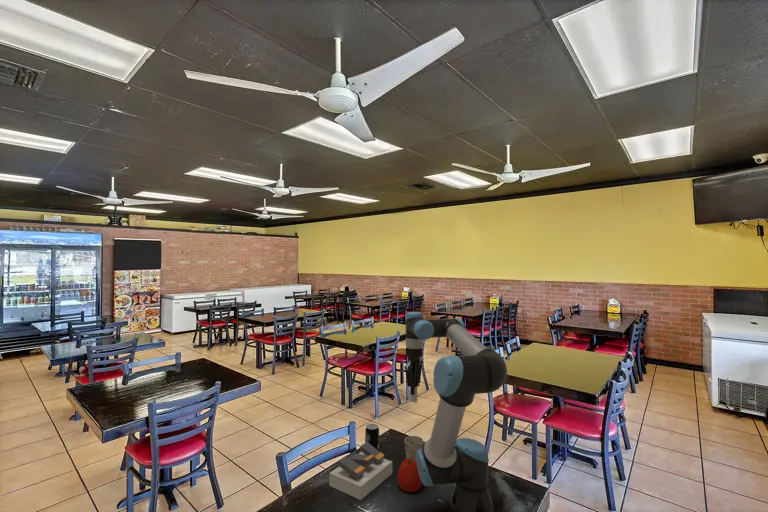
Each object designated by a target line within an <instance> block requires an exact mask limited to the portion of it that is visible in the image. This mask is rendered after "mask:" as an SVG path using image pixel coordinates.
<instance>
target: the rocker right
mask: <svg viewBox="0 0 768 512" xmlns="http://www.w3.org/2000/svg"><path fill="white" fill-rule="evenodd" d="M359 451H360V452H363V453H364V454H365V455H374V456H375V463H376V464H378V463H380V462H381V461H382V460H383V459H385V453H383V452H381V451H380V450H379V451H378V450H377V449H375V448H374V447H373V446H372V445H370V444H369V443H368V442H366V443H365V442H364V443H363V444H361V445H360V447H359Z"/></svg>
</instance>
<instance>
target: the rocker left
mask: <svg viewBox="0 0 768 512" xmlns="http://www.w3.org/2000/svg"><path fill="white" fill-rule="evenodd" d="M337 467H341V468H342V469H344V470H345V471H346V472H348V473H349V474H350V475H352V476H353V477H355V478H356V479H358V478H359V477H360V476H362V475H363V474H364V471H365V468H364V467H363V466H360V465H359V464H357V463H356V462H354V461H353V460H351V459H350V457H349V456H348V455H346V456H344V457H342V458H341V459H339V460H338V463H337Z"/></svg>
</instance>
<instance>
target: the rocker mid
mask: <svg viewBox="0 0 768 512" xmlns="http://www.w3.org/2000/svg"><path fill="white" fill-rule="evenodd" d="M349 458H350V459H351V460H353V461H354V462H356V463H357V464H359V465H364V466H370V465H371V464H372V463H374V462H375V456H374V455H362V454H359V453H355V454H353V455H351V456H350V457H349Z"/></svg>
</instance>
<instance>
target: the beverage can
mask: <svg viewBox="0 0 768 512" xmlns="http://www.w3.org/2000/svg"><path fill="white" fill-rule="evenodd" d="M364 439H365V441H364V443H366V442H368V443H369V444H370V445H372V446H373V447H374V448H375V449H377V450H378V451H379V452H380V428H379V425H378V424H375V423H370V424H367V425H366V428H365V438H364Z"/></svg>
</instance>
